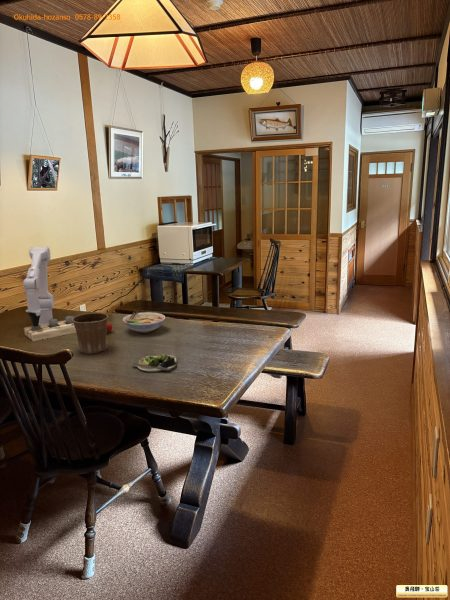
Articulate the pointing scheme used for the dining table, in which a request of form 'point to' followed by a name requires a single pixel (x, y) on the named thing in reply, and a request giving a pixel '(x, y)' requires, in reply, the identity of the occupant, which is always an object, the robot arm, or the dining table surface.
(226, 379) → the dining table surface
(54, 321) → the button
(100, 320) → the plant pot
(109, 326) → the kendama
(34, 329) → the button
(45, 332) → the button board
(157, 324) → the ramen bowl
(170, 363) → the salad plate
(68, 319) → the button
